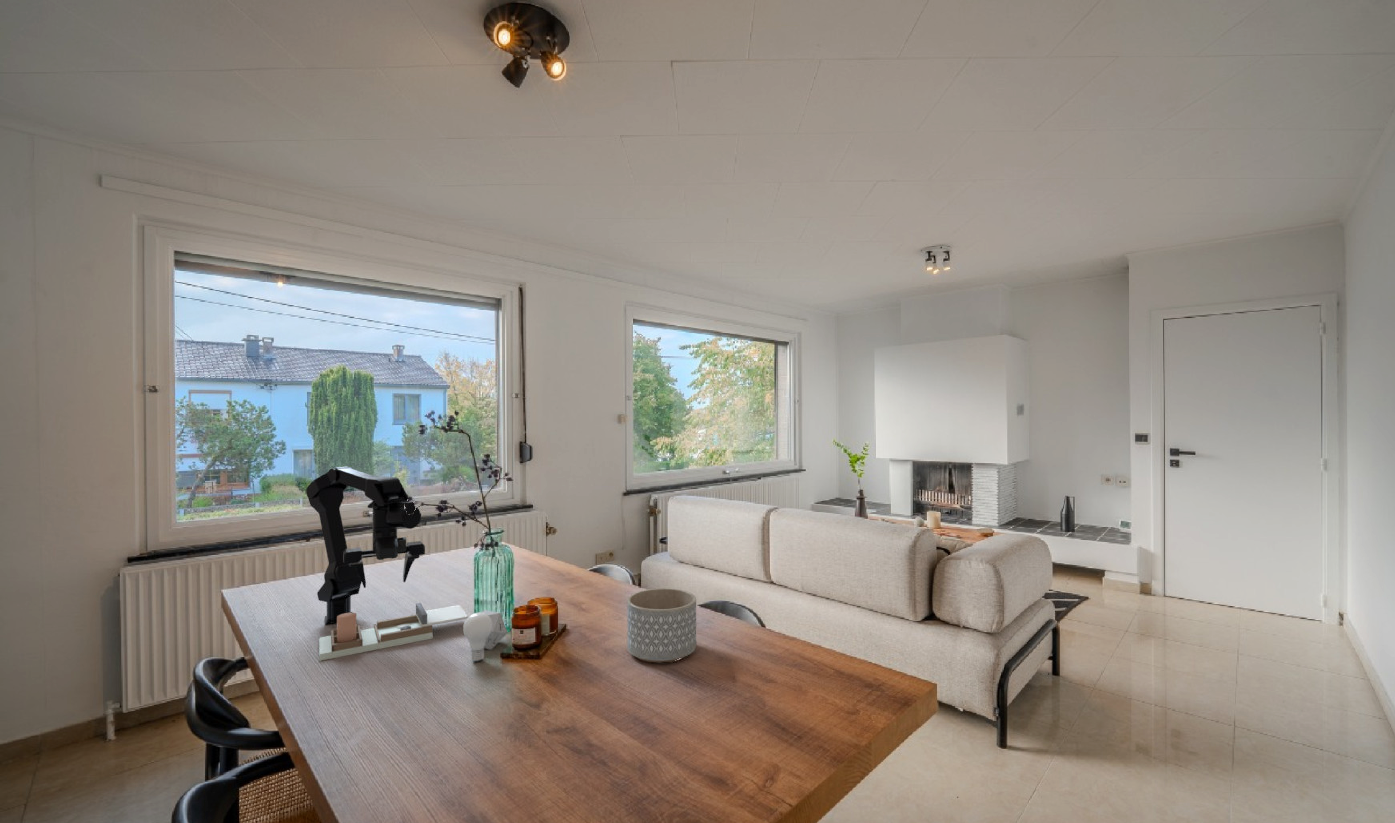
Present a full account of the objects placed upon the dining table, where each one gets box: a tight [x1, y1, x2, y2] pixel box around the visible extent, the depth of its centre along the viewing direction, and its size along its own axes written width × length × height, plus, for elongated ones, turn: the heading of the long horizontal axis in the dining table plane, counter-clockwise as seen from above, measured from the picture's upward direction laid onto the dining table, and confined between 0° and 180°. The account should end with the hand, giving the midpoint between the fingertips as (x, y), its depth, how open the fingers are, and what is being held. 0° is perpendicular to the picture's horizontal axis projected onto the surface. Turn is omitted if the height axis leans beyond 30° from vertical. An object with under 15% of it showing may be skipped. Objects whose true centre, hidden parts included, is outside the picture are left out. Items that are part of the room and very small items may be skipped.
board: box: [318, 614, 434, 662], centre depth 144 cm, size 12×24×3 cm, turn 123°
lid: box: [415, 602, 469, 627], centre depth 152 cm, size 11×11×3 cm
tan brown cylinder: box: [336, 612, 357, 644], centre depth 138 cm, size 4×4×7 cm
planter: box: [626, 588, 697, 663], centre depth 137 cm, size 16×16×13 cm
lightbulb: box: [462, 611, 493, 663], centre depth 132 cm, size 6×6×11 cm
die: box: [481, 609, 509, 651], centre depth 141 cm, size 8×9×10 cm
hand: (384, 584), depth 152 cm, fingers open, 9 cm apart
